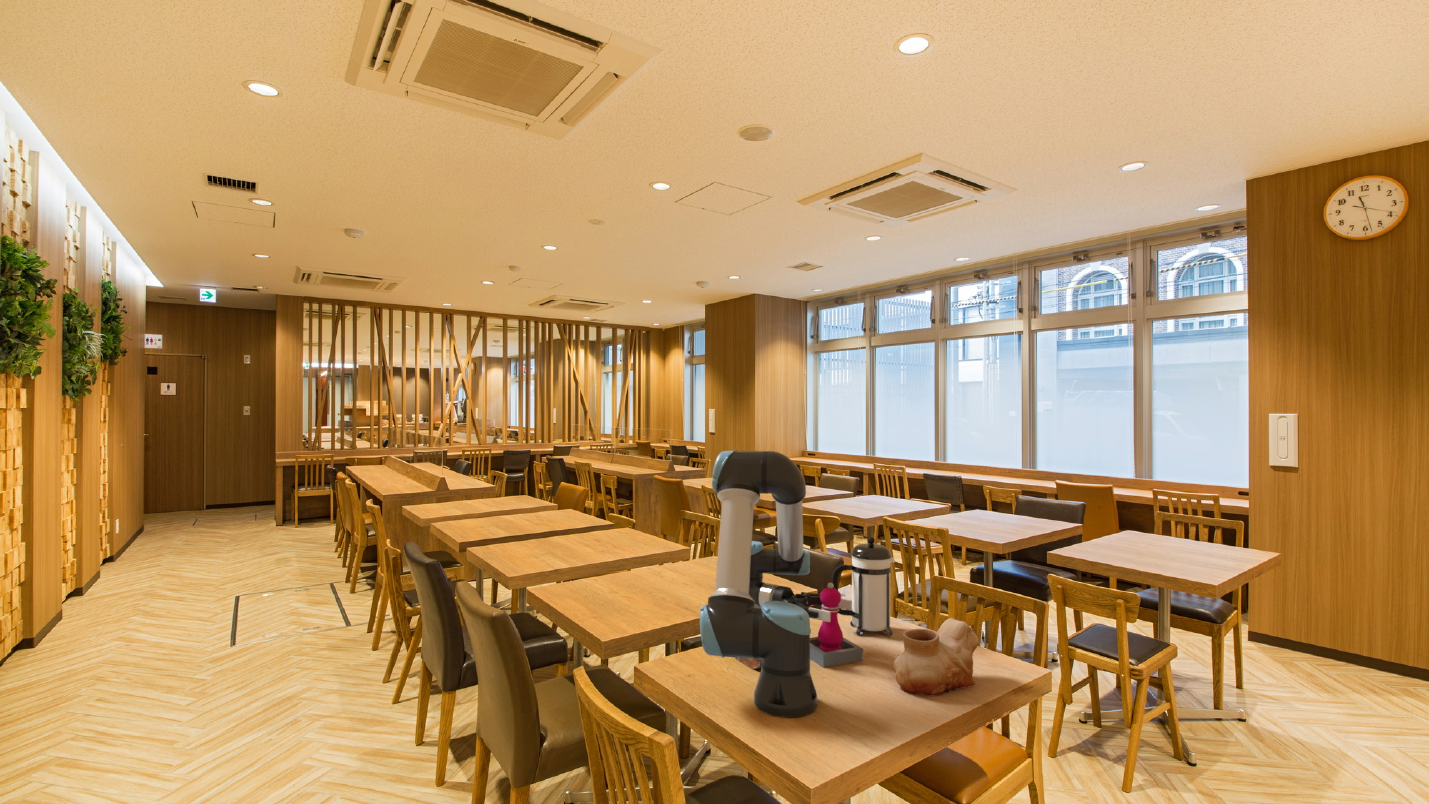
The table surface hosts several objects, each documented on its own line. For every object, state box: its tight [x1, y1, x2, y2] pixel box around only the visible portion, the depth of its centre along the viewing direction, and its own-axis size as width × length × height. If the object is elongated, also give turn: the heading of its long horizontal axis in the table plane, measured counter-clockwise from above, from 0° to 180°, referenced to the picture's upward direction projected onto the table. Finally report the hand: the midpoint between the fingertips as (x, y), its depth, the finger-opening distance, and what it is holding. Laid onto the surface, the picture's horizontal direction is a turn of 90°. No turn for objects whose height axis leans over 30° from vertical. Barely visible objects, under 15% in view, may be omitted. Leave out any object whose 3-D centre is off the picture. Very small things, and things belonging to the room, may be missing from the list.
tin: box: [734, 657, 762, 670], centre depth 183 cm, size 15×3×8 cm, turn 31°
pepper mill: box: [817, 582, 844, 652], centre depth 188 cm, size 7×7×20 cm
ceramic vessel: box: [893, 617, 979, 697], centre depth 170 cm, size 14×26×15 cm, turn 119°
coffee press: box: [831, 536, 896, 637], centre depth 210 cm, size 17×16×30 cm
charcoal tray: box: [810, 636, 864, 668], centre depth 188 cm, size 13×13×4 cm
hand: (841, 611), depth 186 cm, fingers open, 13 cm apart
